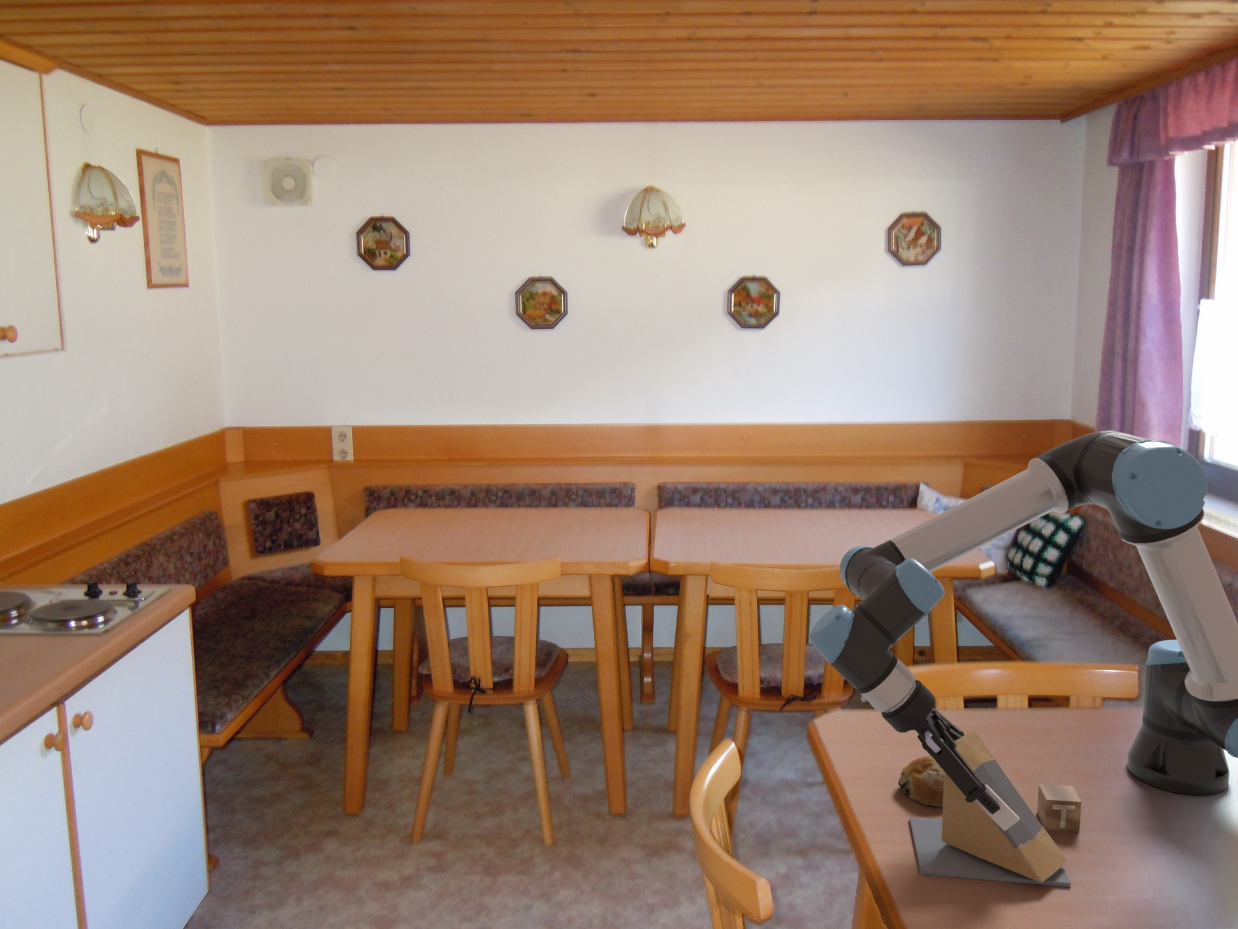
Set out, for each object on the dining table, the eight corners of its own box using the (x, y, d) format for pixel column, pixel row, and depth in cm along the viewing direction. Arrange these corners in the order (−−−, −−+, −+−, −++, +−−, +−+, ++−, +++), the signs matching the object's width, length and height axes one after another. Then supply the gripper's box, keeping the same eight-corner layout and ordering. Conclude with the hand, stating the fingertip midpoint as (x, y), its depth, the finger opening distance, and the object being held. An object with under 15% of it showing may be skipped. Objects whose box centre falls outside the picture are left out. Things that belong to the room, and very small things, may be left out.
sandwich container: (1042, 884, 140) (1049, 782, 138) (939, 841, 151) (944, 745, 149) (1069, 860, 146) (1076, 761, 144) (968, 820, 157) (973, 728, 155)
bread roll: (942, 833, 164) (967, 796, 161) (886, 793, 168) (908, 756, 165) (958, 806, 172) (981, 771, 169) (904, 768, 176) (926, 733, 173)
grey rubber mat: (1045, 831, 157) (1045, 827, 157) (1070, 887, 142) (1070, 883, 142) (909, 820, 160) (909, 817, 160) (920, 874, 146) (920, 870, 146)
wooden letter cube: (1070, 815, 162) (1072, 786, 161) (1079, 833, 156) (1081, 802, 156) (1036, 813, 162) (1038, 784, 161) (1045, 830, 157) (1047, 800, 156)
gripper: (873, 681, 162) (969, 779, 162) (885, 748, 139) (998, 862, 139) (909, 650, 160) (1007, 750, 160) (928, 713, 137) (1042, 829, 137)
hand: (1003, 802), depth 150 cm, fingers closed on sandwich container, 12 cm apart
